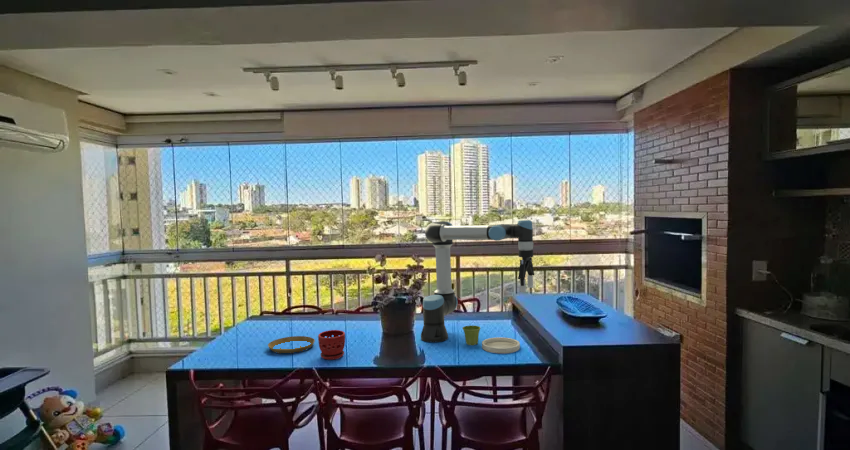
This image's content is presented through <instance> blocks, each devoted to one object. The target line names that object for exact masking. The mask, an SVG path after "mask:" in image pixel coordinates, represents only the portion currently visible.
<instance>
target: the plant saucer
mask: <svg viewBox="0 0 850 450" xmlns="http://www.w3.org/2000/svg"><path fill="white" fill-rule="evenodd" d="M290 341H307V342H310V343H311V344H310V345H308V346H305V347H301V346H300V348H295V349H281V348H280V349H273V347H274V346H275V345H278V344H281V343H285V342H290ZM315 342H316V340H315V338H313V337H311V336H304V335H296V336H295V335H294V336H286V337H281V338H277V339H274V340H272V341H270V342H269V343H268V344H267V346H268V348H269V350H271V351H272V352H273V353H276V352H277V353H276V354H281V353H290V354H295V353H294V352H297V353H301V352H304V351H303V350H305V351H307V350H309V349H310V348H312V347H313V345H314V343H315ZM308 348H309V349H308ZM306 349H307V350H306ZM300 351H301V352H300Z"/></svg>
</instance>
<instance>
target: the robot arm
mask: <svg viewBox="0 0 850 450" xmlns="http://www.w3.org/2000/svg"><path fill="white" fill-rule="evenodd" d="M533 231H534V228H533V221H532V220H531V219H527V220H525V219H522V220H521V219H519V220H518V221H517V223H514V224H512V223H509V224H508V223H506V224H505V223H501V224H496V225H494V224H493V225H488V224H487V225H453V223H451V222H449V221H435V222H434V221H433V222H431V223H429V224H428V225H427V226H426V227H425V229H424V236H425V238H426V239H427V241H429V242H431V243H432V246H433V247H434V248H435V272H436V289H435V290H434V291H433V292H434V294H431V295H426V296H425V297H424V298H423V299H422V312H423V313H422V317H423V318H422V319H423V327H422V328H421V329H422V330H421V333H420V339H421V341H422V342H426V343H440V342H444V341H446V340H448V339H449V334H448V331H447V328H446V325H445V316H447V315H450V314H452V313H453V312H454V311H455V310H456V309H457V307H458V303H459V302H458V298H457V296H456V295H455V290H454V289H453V288H452V269H451V268H452V267H451V266H452V264H451V261H452V260H451V247H452V246H453V245H454V243H453V241H460V240H461V241H465V240H466V241H474V240H475V241H477V240H478V241H479V240H480V241H488V240H489V241H501V240H506V239H518V242H517V243H518V248H517V249H518V257H519V258H521V259H520V260H519V270H518V277H517V279H518V280H519V288H520V290H519V292H520V293H526V292H527V288H530V289H531V288H534V276H535V272H534V271H535V269H534V265H533V257H534V250H533V248H534V245H535V243H534V242H533V241H534V237H533V236H534V235H533V233H534V232H533ZM526 276H527V282H526ZM526 283H527V285H526Z"/></svg>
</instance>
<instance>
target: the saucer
mask: <svg viewBox="0 0 850 450" xmlns="http://www.w3.org/2000/svg"><path fill="white" fill-rule="evenodd" d="M520 348H521V343H520V341H519V340H517V339H515V338H511V337H499V336H498V337H497V336H496V337H489V338H486V339H484V340H482V341H481V349H482V350H483V351H485V352H487V353H493V354H502V355H503V354H512V353H515V352H518V351H519V350H520Z"/></svg>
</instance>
